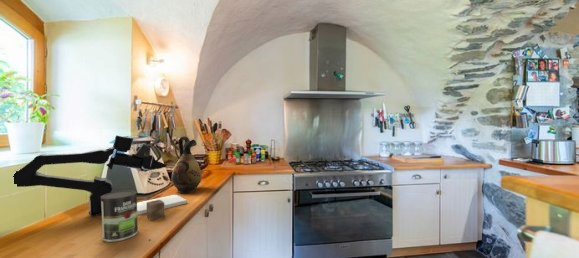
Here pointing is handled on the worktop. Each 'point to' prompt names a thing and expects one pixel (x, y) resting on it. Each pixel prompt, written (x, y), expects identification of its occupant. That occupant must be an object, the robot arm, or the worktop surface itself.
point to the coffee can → (119, 215)
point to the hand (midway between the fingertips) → (164, 166)
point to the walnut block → (155, 209)
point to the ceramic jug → (186, 168)
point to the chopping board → (168, 201)
